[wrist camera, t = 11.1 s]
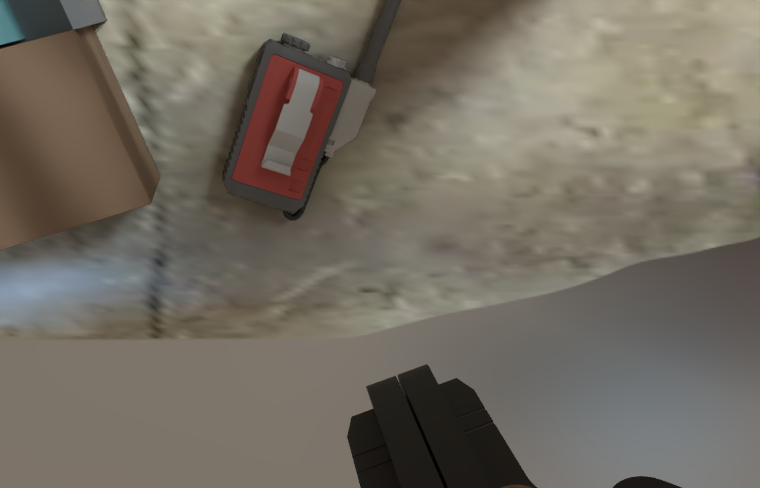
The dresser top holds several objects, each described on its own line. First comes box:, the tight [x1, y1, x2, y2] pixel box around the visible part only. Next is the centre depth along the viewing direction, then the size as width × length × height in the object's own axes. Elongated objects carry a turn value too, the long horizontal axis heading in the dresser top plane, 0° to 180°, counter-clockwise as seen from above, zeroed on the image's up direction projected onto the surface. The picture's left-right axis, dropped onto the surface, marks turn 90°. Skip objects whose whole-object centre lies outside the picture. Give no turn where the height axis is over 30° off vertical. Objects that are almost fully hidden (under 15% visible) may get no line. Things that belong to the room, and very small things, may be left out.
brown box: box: [0, 25, 160, 250], centre depth 35 cm, size 12×11×6 cm
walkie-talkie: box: [223, 0, 401, 220], centre depth 40 cm, size 9×4×20 cm
